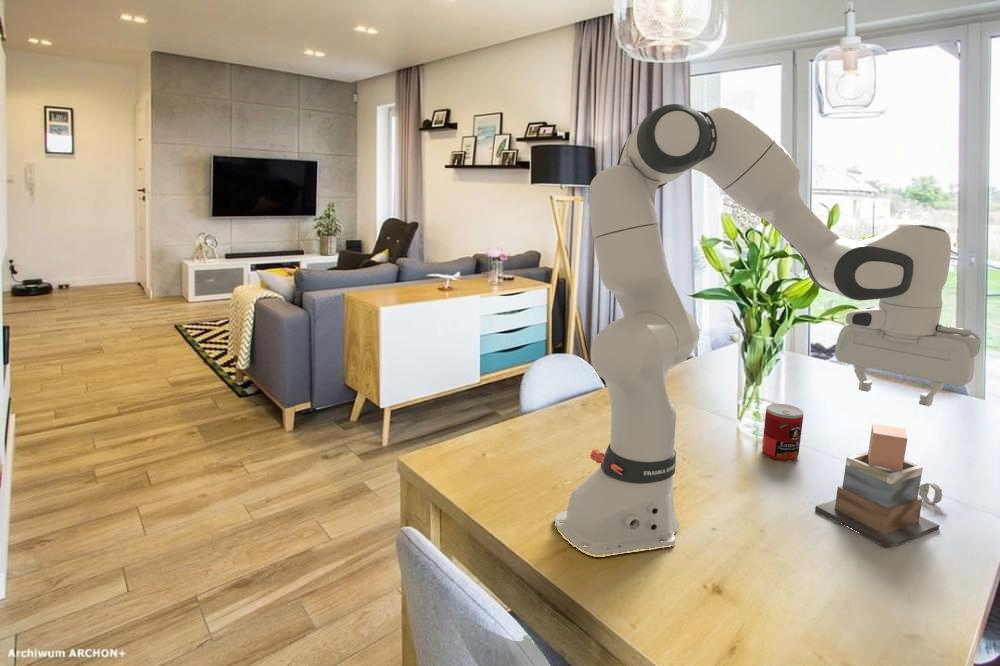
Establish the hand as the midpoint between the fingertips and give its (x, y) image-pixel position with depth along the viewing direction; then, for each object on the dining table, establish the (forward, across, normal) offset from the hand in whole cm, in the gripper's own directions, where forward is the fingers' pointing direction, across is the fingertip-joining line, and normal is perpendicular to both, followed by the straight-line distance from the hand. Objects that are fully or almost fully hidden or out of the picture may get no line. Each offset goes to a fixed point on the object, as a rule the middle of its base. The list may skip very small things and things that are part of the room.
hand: (893, 397), depth 105 cm
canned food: (+24, +25, -15) cm, 38 cm away
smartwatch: (+24, -4, -16) cm, 29 cm away
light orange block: (+12, 0, 0) cm, 12 cm away
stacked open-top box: (+24, 0, 0) cm, 24 cm away
